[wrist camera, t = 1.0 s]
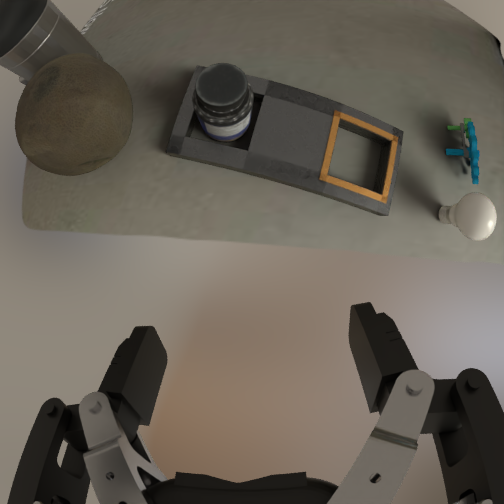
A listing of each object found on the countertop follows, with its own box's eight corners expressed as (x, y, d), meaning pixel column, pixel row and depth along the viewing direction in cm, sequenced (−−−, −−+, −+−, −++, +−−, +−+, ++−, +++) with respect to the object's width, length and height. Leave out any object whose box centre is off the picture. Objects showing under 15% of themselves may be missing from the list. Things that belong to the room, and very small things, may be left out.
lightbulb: (443, 186, 34) (493, 182, 24) (459, 219, 35) (508, 223, 24) (421, 209, 35) (472, 210, 24) (438, 243, 36) (488, 253, 25)
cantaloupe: (160, 85, 31) (123, 23, 16) (134, 186, 32) (71, 171, 18) (78, 86, 30) (22, 45, 15) (53, 176, 31) (-19, 166, 17)
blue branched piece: (479, 193, 33) (484, 171, 26) (448, 190, 37) (446, 168, 30) (473, 134, 33) (473, 104, 26) (444, 133, 37) (439, 103, 30)
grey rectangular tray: (170, 156, 32) (165, 151, 30) (199, 74, 31) (196, 64, 28) (379, 215, 34) (389, 215, 32) (394, 135, 33) (404, 131, 30)
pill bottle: (206, 97, 31) (195, 54, 20) (253, 102, 32) (260, 60, 21) (197, 141, 32) (180, 109, 21) (246, 147, 33) (250, 117, 22)
